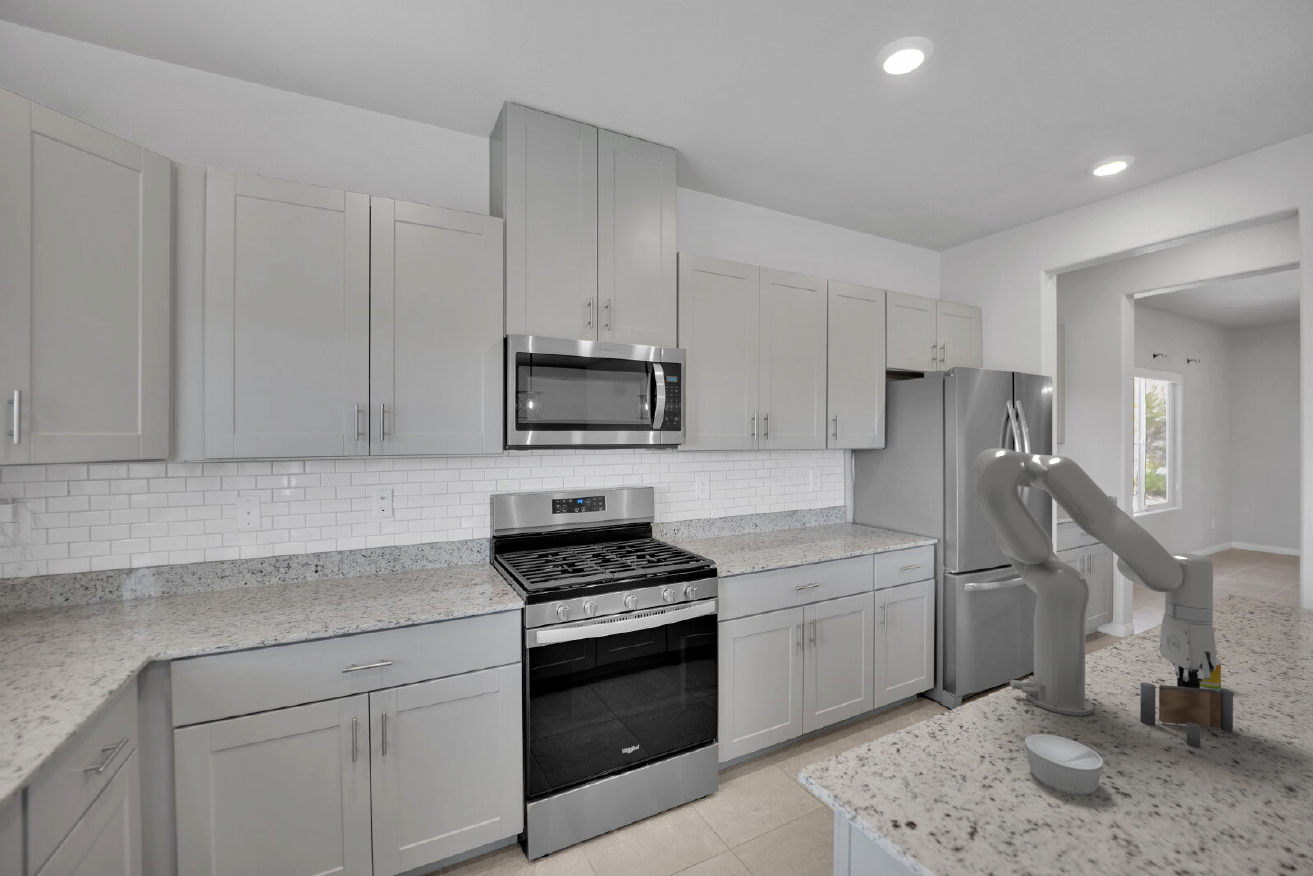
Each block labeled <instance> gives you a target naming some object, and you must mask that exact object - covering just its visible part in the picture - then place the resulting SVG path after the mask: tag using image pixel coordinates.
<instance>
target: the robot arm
mask: <svg viewBox="0 0 1313 876" xmlns="http://www.w3.org/2000/svg"><path fill="white" fill-rule="evenodd" d="M974 470H975V472H976V474H977V475H978V478H977V481H976V490H975V491H976V492H975V493H976V499H977V500H976V501H977V503H978V506H979V508H980V510H981V511H982V513H983V515H984V516H985V518H986V520H987V521H988V522H989V524H990V525H991V527H992V528H993V530H994V531H995V532H996V533H995V539H996V543H997V545H998V547H999V549H1000V550H1001V552H1002V553H1003V555H1004V557H1005V558H1006V560H1008V561H1009V563H1010V564H1011V566H1012V567H1013V568H1014V570H1015V571H1016V572H1017V574H1018V576H1019V577H1020V578H1021V579H1022V581H1023V582H1024V583H1025V584H1026V586H1027V587H1029V589H1030V590H1032V592H1034V593H1035V594H1036V604H1035V608H1034V609H1035V610H1034V615H1033V616H1034V618H1033V631H1034V632H1033V676H1032V675H1031V676H1028V679H1025V680H1024V681H1023V680H1022V681H1021V680H1015V679H1011V680H1010V681H1009V684H1010V685H1009V686H1010V688H1011V687H1012V688H1011V689H1012V690H1020V692H1021V693H1022V694H1025V697H1026V698H1027V700H1028V701H1029V702H1031V703H1032V704H1034V705H1035V706H1037V707H1040V708H1042V709H1045V710H1048V711H1051V712H1054V713H1058V714H1061V715H1069V716H1079V717H1080V716H1088V715H1091V714H1092V713H1094V709H1095V708H1094V704H1093V702H1092V701H1090V700H1089V699H1088V698H1086V624H1087V623H1086V622H1087V621H1086V620H1087V611H1088V606H1089V602H1090V588H1089V587H1090V586H1089V584H1088V582H1087V580H1086V578H1085V576H1083V574H1082V573H1081V572H1080V571H1079V570H1077V569H1076V568H1075V567H1073V566H1071V565H1069V564H1067V563H1066V562H1063V561H1061V559H1060V558H1059V556H1057V553H1055V552H1054V544H1053V541H1052V539H1051V536H1050V535H1049V533H1048V532H1047V530H1045V528H1044V527H1043V526H1042V525H1041V524H1040V522H1039V521H1038V520H1037V519H1036V518H1035V516H1034V515H1033V513H1032V512H1031V511H1030V509H1028V506H1027V505H1026V503H1025V502H1024V501H1023V499H1022V497H1021V496H1020V492H1019V488H1021V487H1022V488H1028V489H1038V490H1043V491H1045V492H1046V493H1047V494H1048V495H1049V496H1050V497H1051V498H1052V499H1053V500H1054V501H1055V502H1056V504H1058V505H1059V506H1060V507H1061V509H1062V510H1063V511H1064V512H1065V513H1066V514H1067V515H1068V517H1070V519H1071V520H1072V521H1073V522H1074V523H1075V524H1076V525H1077V527H1079V528H1080V529H1081V530H1082V531H1084V532H1085V533H1086V534H1088V536H1090V537H1092V538H1093V539H1096V540H1097V541H1098V542H1100V543H1102V544H1103V545H1105V547H1107V548H1108V549H1110V550H1111V551H1112V552H1113V554H1115V555H1117V557H1118V558H1117V560H1116V567H1117V569H1118V571H1119V573H1120V574H1121V575H1122V576H1123V577H1125V578H1126V579H1127V580H1128V581H1131V582H1133V583H1135V584H1137V585H1139V586H1142V587H1144V588H1146V589H1148V590H1150V591H1153V592H1157V593H1164V595H1165V596H1164V600H1165V601H1164V606H1165V607H1164V613H1163V616H1162V620H1161V621H1162V622H1161V625H1160V627H1161V628H1160V634H1159V635H1160V637H1159V653H1160V655H1161V656H1162V657H1163V658H1164V659H1165V660H1167V661H1168V662H1169V663H1171V664H1172V665H1173V666H1174V672H1175V674H1174V675H1175V676H1176V680H1177V681H1176V686H1179V687H1191V688H1200V683H1201V682H1202V679H1208V680H1210V679H1211V676H1210V672H1214V671H1215V668H1216V657H1217V655H1216V649H1217V648H1216V637H1215V631H1214V627H1213V624H1214V564H1213V561H1212V560H1211V558H1209V557H1207V556H1204V555H1200V554H1196V553H1195V554H1194V553H1186V552H1185V553H1184V552H1183V553H1182V552H1172V553H1169V552H1168V551H1167V550H1166V549H1165V547H1164V546H1163V545H1161V543H1160V542H1159V541H1158V540H1157V539H1156V538H1155V537H1154V536H1152V535H1151V533H1149V531H1147V530H1146V529H1144V527H1142V526H1141V525H1140V524H1139V523H1138V522H1136V521H1135V520H1134V519H1133V518H1132V517H1131V516H1130V515H1128V514H1127V513H1126V512H1125V511H1124V510H1122V509H1121V508H1120V507H1119V506H1118V505H1117V504H1116V503H1115V502H1114V501H1113V500H1112V499H1111V498H1110V497H1109V496H1108V495H1107V494H1106V492H1104V491H1103V490H1102V489H1101V487H1100V486H1098V484H1097V483H1096V482H1095V481H1094V480H1093V479H1092V478H1091V477H1090V476H1089V475H1088V474H1087V472H1086V471H1084V469H1083V468H1082V467H1080V465H1079V464H1078V463H1077V462H1076V461H1074V460H1072V459H1071V458H1069V457H1067V456H1064V455H1051V454H1050V455H1049V454H1037V453H1029V452H1020V451H1015V450H1013V449H1009V448H1003V447H1002V448H998V447H997V448H995V447H993V448H987V449H985V450H982V451H981V452H980V453H979V454H978V455H977V456H976V458H975V460H974ZM1025 681H1028V682H1025Z"/></svg>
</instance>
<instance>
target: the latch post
mask: <svg viewBox="0 0 1313 876" xmlns="http://www.w3.org/2000/svg"><path fill="white" fill-rule="evenodd" d="M1218 692H1219V693H1220V694H1221V728H1220V729H1221V730H1220V729H1219V730H1220V731H1222V730H1223V732H1225V731H1226V733H1233V732H1234V692H1233V691H1231V690H1229V689H1224V688H1221V689H1220V690H1219V691H1218Z"/></svg>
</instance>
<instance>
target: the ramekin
mask: <svg viewBox="0 0 1313 876" xmlns="http://www.w3.org/2000/svg"><path fill="white" fill-rule="evenodd" d="M1024 748H1025V750H1026V754H1027V755H1026V756H1027V760H1028V767H1029V770H1030V772H1031V773H1032V774H1033V776H1034V777H1035V779H1037V780H1038V781H1041V782H1040V783H1041V784H1043V783H1044V784H1043V785H1045V784H1046V785H1045V786H1047V785H1048V786H1047V787H1049V788H1051V787H1053V788H1054V789H1053V788H1052V789H1053V790H1056V789H1057V790H1056V791H1058V790H1060V791H1059V792H1061V791H1063V792H1062V793H1065V792H1069V793H1073V794H1072V795H1074V794H1088V795H1090V793H1091V794H1092V793H1094V792H1095V791H1096V790H1097V789H1098V785H1099V783H1100V779H1101V778H1100V777H1101V773H1102V771H1103V770H1104V760H1103V758H1102V757H1101V756H1100V754H1098V752H1096V751H1094V750H1093V749H1092V748H1091V747H1089V746H1087V745H1085V744H1082V743H1080V742H1078V741H1076V740H1072V739H1069V738H1066V737H1064V736H1059V735H1054V734H1046V733H1045V734H1044V733H1042V734H1041V733H1039V734H1031V735H1029V736H1027V737H1026V738H1025V740H1024ZM1069 793H1068V794H1069Z"/></svg>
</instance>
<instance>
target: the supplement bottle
mask: <svg viewBox="0 0 1313 876" xmlns="http://www.w3.org/2000/svg"><path fill="white" fill-rule="evenodd" d="M1217 656H1218V650H1217V648H1216V668H1215V671H1214V672H1210V676H1211V679H1210V680H1208V679H1202V682H1201V683H1200V688H1204V689H1216V690H1218V692H1219V690H1220V689H1222V661H1221V659H1220V658H1219V657H1217Z"/></svg>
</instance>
